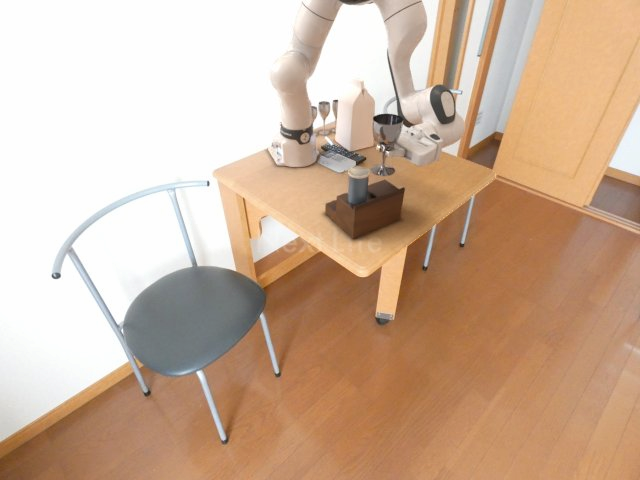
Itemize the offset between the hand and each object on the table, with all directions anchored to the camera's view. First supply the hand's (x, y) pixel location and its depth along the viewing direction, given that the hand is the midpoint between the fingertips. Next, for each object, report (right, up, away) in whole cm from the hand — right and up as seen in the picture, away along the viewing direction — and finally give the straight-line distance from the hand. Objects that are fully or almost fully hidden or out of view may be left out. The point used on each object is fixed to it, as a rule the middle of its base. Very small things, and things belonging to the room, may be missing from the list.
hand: (382, 151), depth 103 cm
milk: (-3, +17, +55) cm, 57 cm away
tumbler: (-7, -13, +3) cm, 15 cm away
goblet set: (-10, +25, +65) cm, 70 cm away
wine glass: (+1, -4, +4) cm, 6 cm away
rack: (-4, -17, +14) cm, 22 cm away
